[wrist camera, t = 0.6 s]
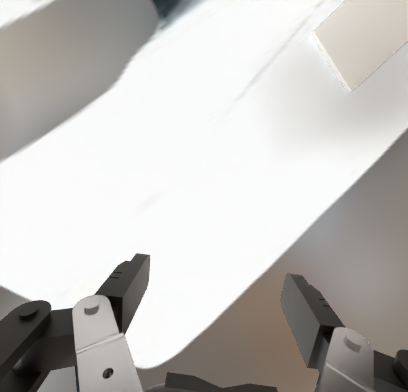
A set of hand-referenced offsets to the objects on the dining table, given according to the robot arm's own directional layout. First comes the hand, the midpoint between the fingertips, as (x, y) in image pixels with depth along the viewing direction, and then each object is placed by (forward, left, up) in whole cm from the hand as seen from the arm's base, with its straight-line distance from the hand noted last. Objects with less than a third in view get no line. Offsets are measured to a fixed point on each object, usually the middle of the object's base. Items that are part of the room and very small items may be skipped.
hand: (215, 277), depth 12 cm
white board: (-1, +36, -21) cm, 41 cm away
